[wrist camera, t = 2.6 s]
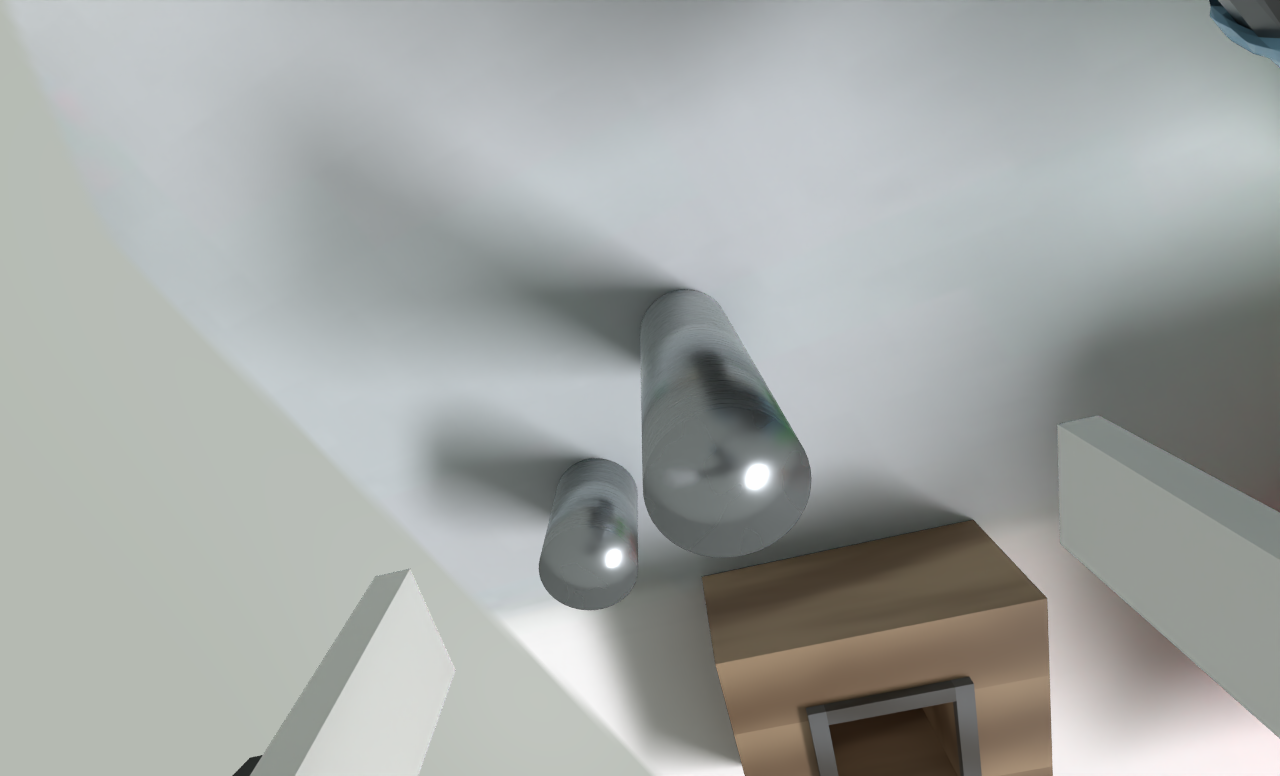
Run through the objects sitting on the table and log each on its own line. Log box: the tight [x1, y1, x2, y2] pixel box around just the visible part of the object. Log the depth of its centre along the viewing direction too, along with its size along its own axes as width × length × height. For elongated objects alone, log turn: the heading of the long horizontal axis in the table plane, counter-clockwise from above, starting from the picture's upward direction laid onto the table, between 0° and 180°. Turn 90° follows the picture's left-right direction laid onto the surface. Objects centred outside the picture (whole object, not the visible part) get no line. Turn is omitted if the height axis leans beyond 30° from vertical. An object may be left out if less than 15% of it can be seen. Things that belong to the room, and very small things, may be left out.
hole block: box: [702, 520, 1053, 776], centre depth 31 cm, size 14×14×6 cm
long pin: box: [640, 289, 811, 558], centre depth 21 cm, size 4×4×14 cm
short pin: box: [539, 459, 638, 610], centre depth 28 cm, size 4×4×6 cm
